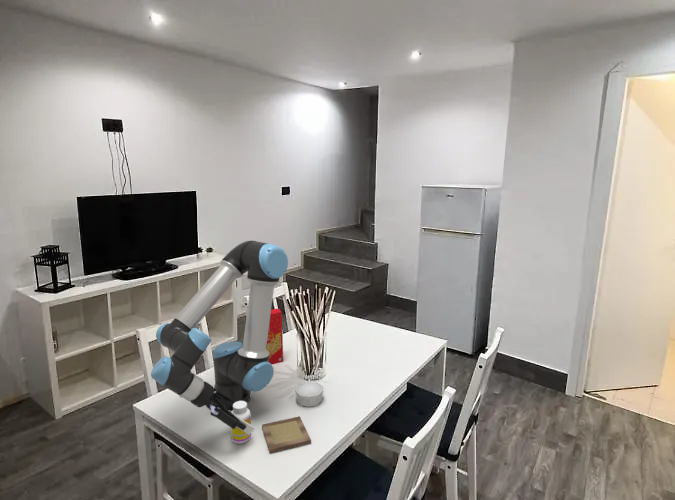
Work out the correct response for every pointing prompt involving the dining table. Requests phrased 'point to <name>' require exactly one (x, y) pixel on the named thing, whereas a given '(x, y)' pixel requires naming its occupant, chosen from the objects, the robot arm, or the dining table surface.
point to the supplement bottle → (243, 413)
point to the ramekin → (309, 393)
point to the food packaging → (275, 337)
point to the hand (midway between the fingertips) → (250, 424)
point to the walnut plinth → (285, 434)
